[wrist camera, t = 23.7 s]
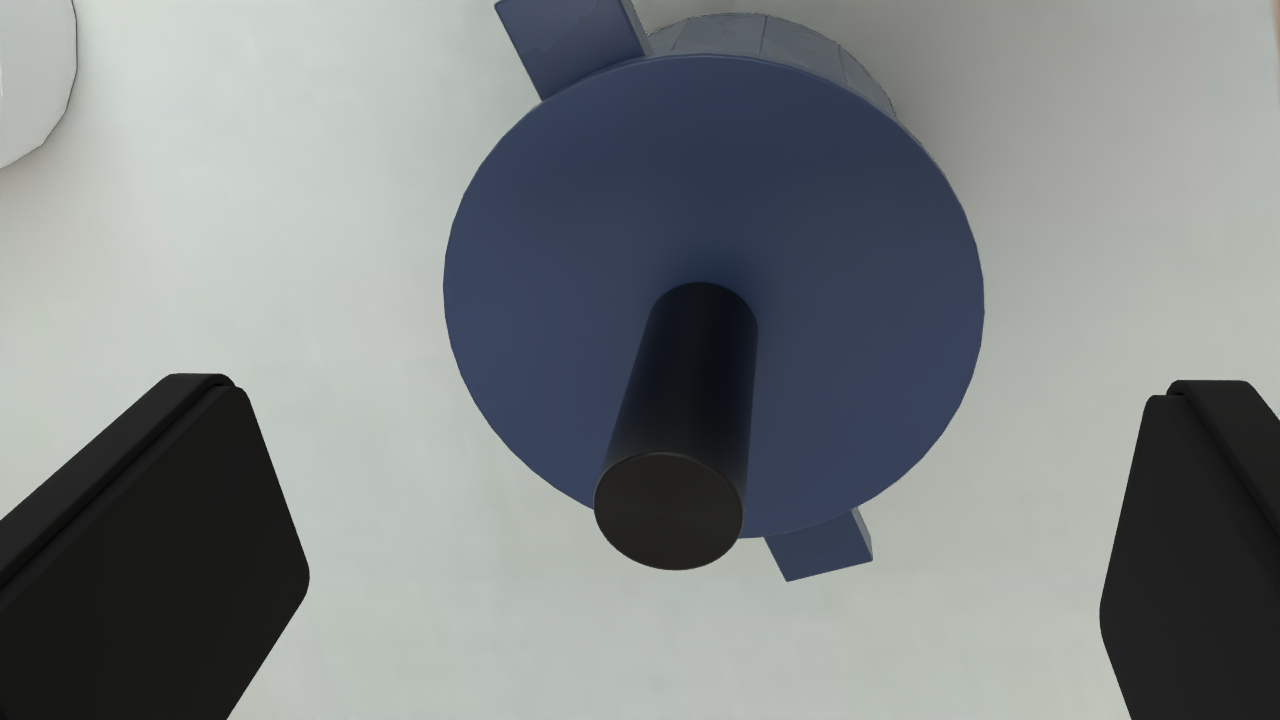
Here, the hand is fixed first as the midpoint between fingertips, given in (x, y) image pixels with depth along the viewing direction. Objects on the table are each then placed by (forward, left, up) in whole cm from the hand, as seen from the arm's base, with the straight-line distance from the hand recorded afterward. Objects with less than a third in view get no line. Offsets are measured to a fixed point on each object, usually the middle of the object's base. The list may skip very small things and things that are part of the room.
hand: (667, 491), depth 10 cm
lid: (+2, +3, -10) cm, 11 cm away
